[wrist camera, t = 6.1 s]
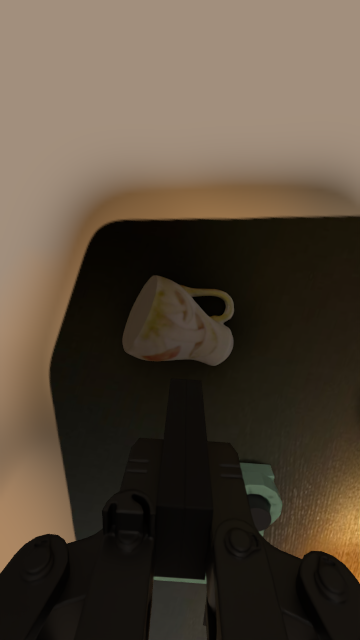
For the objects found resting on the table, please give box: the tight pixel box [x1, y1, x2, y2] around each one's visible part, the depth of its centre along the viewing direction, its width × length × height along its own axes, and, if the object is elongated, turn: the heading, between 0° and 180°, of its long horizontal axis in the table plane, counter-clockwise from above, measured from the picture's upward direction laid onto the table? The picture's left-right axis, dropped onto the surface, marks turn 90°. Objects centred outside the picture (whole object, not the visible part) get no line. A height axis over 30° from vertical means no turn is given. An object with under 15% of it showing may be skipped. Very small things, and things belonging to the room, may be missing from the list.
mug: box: [122, 275, 234, 366], centre depth 24 cm, size 8×10×10 cm
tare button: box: [247, 494, 272, 531], centre depth 28 cm, size 3×3×2 cm
